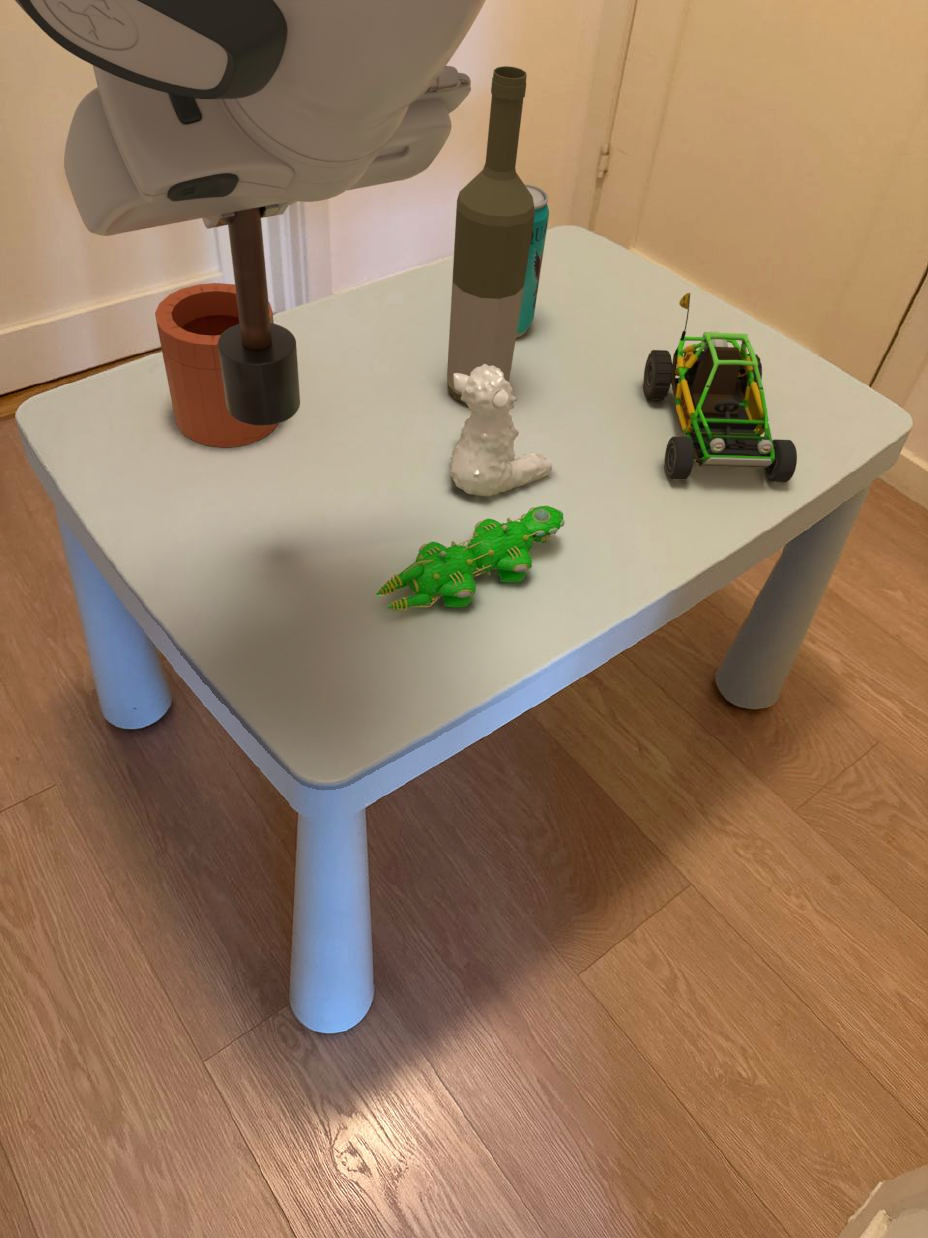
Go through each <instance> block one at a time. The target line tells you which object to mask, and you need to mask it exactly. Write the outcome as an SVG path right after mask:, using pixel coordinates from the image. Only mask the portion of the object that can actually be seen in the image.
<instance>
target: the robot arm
mask: <svg viewBox="0 0 928 1238" xmlns="http://www.w3.org/2000/svg"><path fill="white" fill-rule="evenodd" d="M14 1H15V3H16V4H17V5H18V6H19V7H20V8H21V9H22V10H23V12H25V14H26V15H27V16H28V17H29V18H30V19H31V20H32V21H33V22H34V23H35V24H36V25H37V26H38V27H39V28H40V30H42V31H43V33H45V34H46V35H47V36H48V37H50V39H51V40H53V42H55V43H56V44H58V45H59V46H60V47H61V48H62V49H64V50H66V51H67V52H69V53H70V54H72V55H73V56H75V57H77V58H79V59H81V60H82V61H84V62H86V63H88V64H90V65H91V66H92V70H93V73H94V78H95V82H96V86H97V87H95V88H94V89H92V90H90V91H89V92H88V93H87V94H86V95H85V96H84V97H83V98H82V99H81V101H80V102H79V103H78V105H77V107H76V109H75V111H74V113H73V116H72V118H71V122H70V125H69V129H68V133H67V137H66V142H65V149H64V156H63V168H64V174H65V177H66V180H67V183H68V186H69V190H70V192H71V195H72V198H73V201H74V204H75V206H76V209H77V211H78V213H79V216H80V218H81V221H82V222H83V225H84V227H85V228H86V229H87V231H88V232H90V233H91V234H94V235H97V236H101V237H102V236H103V237H110V236H117V235H121V234H125V233H129V232H136V231H140V230H147V229H150V228H156V227H162V226H167V225H172V224H179V223H183V222H189V221H193V220H200V219H202V222H203V225H204V227H205V228H206V230H207V229H212V228H220V227H224V226H228V225H229V224H231V223H232V222H231V220H233V219H234V217H235V213H234V212H236V211H242V210H247V209H252V208H258V207H260V212H261V219H264V218H269V217H275V216H281V215H284V213H285V212H286V210H287V209H288V207H289V206H292V205H293V204H295V203H297V202H302V203H314V202H320V201H326V200H329V199H332V198H336V197H337V196H339V195H341V194H344V193H345V192H347V191H352V190H357V189H362V188H363V189H364V188H369V187H373V186H378V185H384V184H389V183H395V182H400V181H405V180H409V179H412V178H413V177H415V176H418V175H419V174H422V172H425V171H426V170H427V169H428V168H429V167H430V166H431V165H432V163H433V162H434V161H435V159H436V158H437V156H438V155H439V154H440V152H441V150H442V149H443V148H444V146H445V144H446V142H447V140H448V139H449V137H450V135H451V131H452V128H453V127H452V119H451V116H450V113H452V112H454V111H455V110H457V108H459V107H460V105H461V104H462V103H463V102H464V101H465V100H466V98H468V96H469V95H470V93H471V91H472V87H471V85H472V80H471V78H470V76H469V75H468V74H467V73H464V72H459V71H458V69H457V68H456V67H455V66H452V65H448V64H449V62H450V61H451V59H452V58H453V56H454V55H455V53H456V52H457V50H458V49H459V48H460V45H462V42H463V41H464V39H465V38H466V36H467V35H468V33H469V31H470V30H471V28H472V26H473V25H474V23H475V22H476V19H477V18H478V16H479V14H480V12H481V11H482V8H483V7H484V5H485V3H486V1H487V0H14Z"/></svg>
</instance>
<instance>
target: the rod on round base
mask: <svg viewBox="0 0 928 1238" xmlns="http://www.w3.org/2000/svg"><path fill="white" fill-rule="evenodd" d="M234 213H235V217H234V219H233V220H231V222H232V223H231V224H229V225H227V228H228V229H227V230H228V236H229V237H228V238H229V245H230V253H231V263H232V271H233V279H234V280H233V281H234V284H235V289H236V297H237V306H238V314H239V323H240V324H238V325H235V326H233V327H231V328H229V329H227V330H226V331H224V332H223V333H222V334H221V336H220V337H219V340H218V352H219V359H220V366H221V373H222V380H223V388H224V395H225V402H226V408H227V410H228V412H229V413H230V414H231V416H233V417H234V418H235V419H237V420H239V421H241V422H243V423H246V424H250V425H258V426H265V425H274V424H278V425H279V424H280V423H283V422H286V421H288V420H290V419H291V418H292V417H294V416H295V415H296V414H297V412H298V411H299V409H300V406H301V395H300V393H301V391H300V380H299V379H300V378H299V364H298V350H297V349H298V348H297V347H298V346H297V340H296V337H295V336H294V334H293V333H292V331H290V330H289V329H288V328H286V327H284V326H282V325H280V324H277V323H270V313H269V303H270V302H269V293H268V280H267V271H266V260H265V259H266V258H265V248H264V236H263V224H262V218H261V212H260V207H258V208H252V209H247V210H242V211H236V212H234Z"/></svg>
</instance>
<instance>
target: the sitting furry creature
mask: <svg viewBox="0 0 928 1238" xmlns="http://www.w3.org/2000/svg"><path fill="white" fill-rule="evenodd" d="M453 376H454V388H455V389H456V390H457V391H459V392H462V397H461V400H462V401H464V402H465V403H464V404H466V406H468V410H469V411H471V412H470V415H469V417H468V418H466V419H465V420H464V426H463V427H462V428H461V433H460V438H459V439H458V441H457V444H456V445H455V446H454V447H453V450H452V452H451V453H452V454H451V457H450V458H449V460H450V461H449V462H448V467H449V469H450V472H449V473H450V477H451V479H452V481H453V482H454V484H455V487H456V488H458V489H460V490H463V492H464V493H466V494H468V495H473V496H476V497H486V498H490V497H492V496H497V495H499V494H500V493H505V492H507V491H511V490H512V489H514V488H518V487H521V486H526V484H530V483H531V482H532V483H533V482H536V481H538V480H541V479H543V478H544V477H546V476H547V475H549V474H550V473H551V472H552V470H553V465H552V461H551V460H550V459H546V456H545V455H544V454H541V453H535V452H532V451H531V452H530V453H524V454H522V455H521V456H518V457H517V458H515V457H516V454H515V450H514V447H515V444H514V442H515V440H516V438H517V437H518V436H519V434H520V432H519V430H518V429H517V428H516V427H515V426H514V425H515V424H514V421H513V415H512V414H511V410H513V409H514V408H515V403H514V402H516V401H517V398H516V396H514V393H513V391H514V388H513V387H512V386H511V383H510V381H509V382H508V381H506V380H505V379H504V377H503V376H504V374H503V372H501V370H500V369H499V368H496V367H495V366H493V365H492V366H488V365H487V364H483V365H482V366H481V367H477V368H475V369H474V370H473V371H472V372H471V373H470V376H468V375H465V374H461V373H454V374H453Z"/></svg>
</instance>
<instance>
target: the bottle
mask: <svg viewBox="0 0 928 1238" xmlns="http://www.w3.org/2000/svg"><path fill="white" fill-rule="evenodd" d="M492 72H493V74H492V77H491V78H492V79H491V87H490V93H491V94H490V95H491V99H490V100H491V101H490V110H489V123H488V132H487V133H488V134H487V143H486V154H485V163H484V166H483V168H482V170H481V171H480V172H479V173H478V174H477V175H475V176H474V177H473V178H472V179H471V180H470V181H469V182H468V183H467V184H466V185H464V187H463V188H462V189H461V190H459V192H458V196H457V199H456V209H455V210H456V212H455V228H454V242H453V243H454V246H453V261H452V264H453V265H452V279H451V280H452V281H451V283H452V284H451V295H450V297H451V298H450V316H449V334H448V351H447V366H446V367H447V368H446V369H447V370H446V385H447V391H448V393H449V394H450V395H451V396H452V397H453V398H454V400H456V401H457V402H461V403H463V404H466V403H465V402H464V401H462V400H461V397H462V392H459V391H457V390H456V389H455V388H454V376H453V374H454V373H461V374H465V375H468V376H470V373H471V372H472V371H473V370H474V369H475V368H477V367H481V366H482V365H483V364H487V365H488V366H492V365H493V366H495V367H496V368H499V369H500V370H501V372H503V374H504V376H503V377H504V379H505V380H506V381H508V382H509V383H510V378H511V374H512V373H511V372H512V365H513V359H514V353H515V347H516V339H517V338H516V334H517V328H518V321H519V315H520V308H521V302H522V295H523V289H524V282H525V276H526V270H527V263H528V257H529V250H530V244H531V237H532V231H533V224H534V218H535V210H534V202H533V196H532V195H531V193H530V192H529V190H528V189H527V188H526V186H525V185H524V184H525V183H524V182H523V180H522V179H521V178H520V176H519V174H518V173H517V170H516V164H517V157H518V156H517V155H518V149H519V139H520V132H521V122H522V113H523V107H524V98H526V91H527V72H526V71H525V70H523V69H522V68H519V67H517V66H516V67H515V66H508V65H504V66H503V65H502V66H498V67H495V68H494V69H493V71H492Z"/></svg>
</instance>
